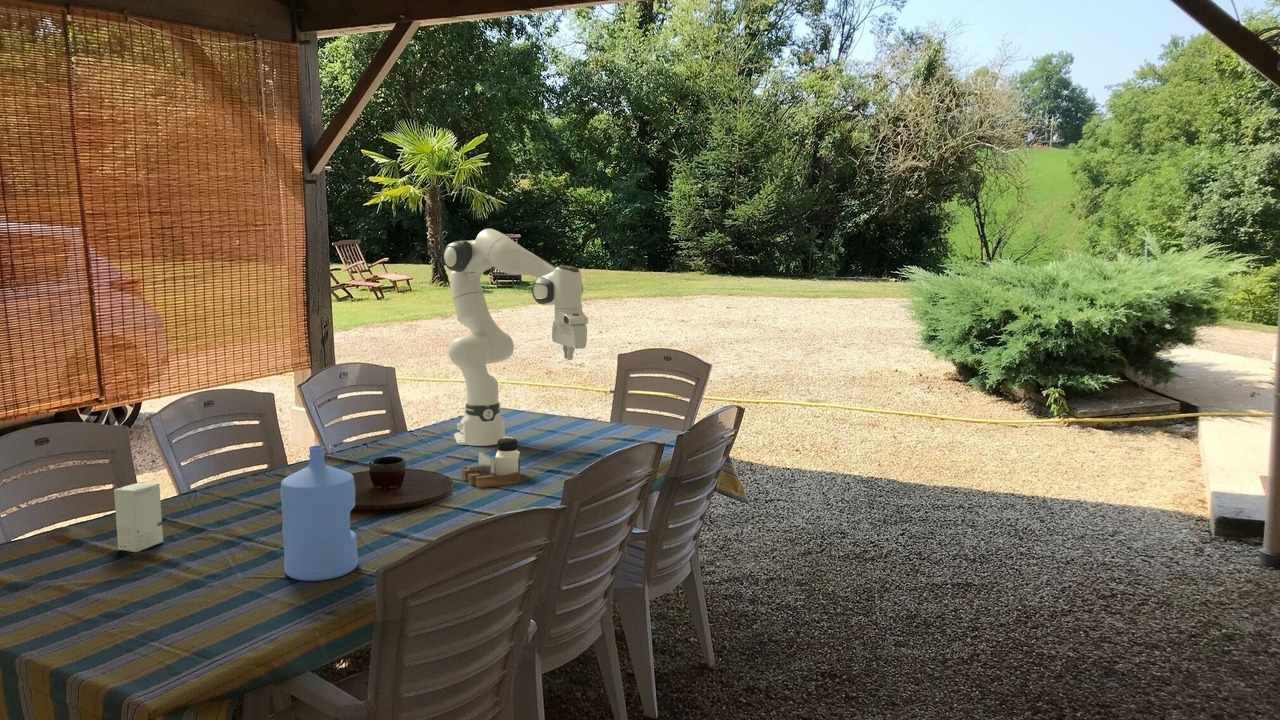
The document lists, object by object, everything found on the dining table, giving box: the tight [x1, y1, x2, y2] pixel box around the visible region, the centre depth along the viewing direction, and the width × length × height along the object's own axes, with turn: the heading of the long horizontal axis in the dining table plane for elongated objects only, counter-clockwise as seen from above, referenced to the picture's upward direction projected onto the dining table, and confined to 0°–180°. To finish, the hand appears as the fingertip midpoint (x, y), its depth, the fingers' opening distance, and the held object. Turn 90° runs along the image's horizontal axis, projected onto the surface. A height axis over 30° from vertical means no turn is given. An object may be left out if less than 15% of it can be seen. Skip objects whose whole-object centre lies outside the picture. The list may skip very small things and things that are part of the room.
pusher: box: [468, 451, 495, 476], centre depth 276 cm, size 11×6×7 cm, turn 28°
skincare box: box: [113, 481, 164, 553], centre depth 217 cm, size 8×6×15 cm
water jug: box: [279, 445, 359, 582], centre depth 203 cm, size 16×16×28 cm
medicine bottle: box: [494, 436, 521, 477], centre depth 281 cm, size 7×7×12 cm
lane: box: [461, 462, 520, 489], centre depth 278 cm, size 15×14×3 cm
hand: (568, 359), depth 294 cm, fingers closed
